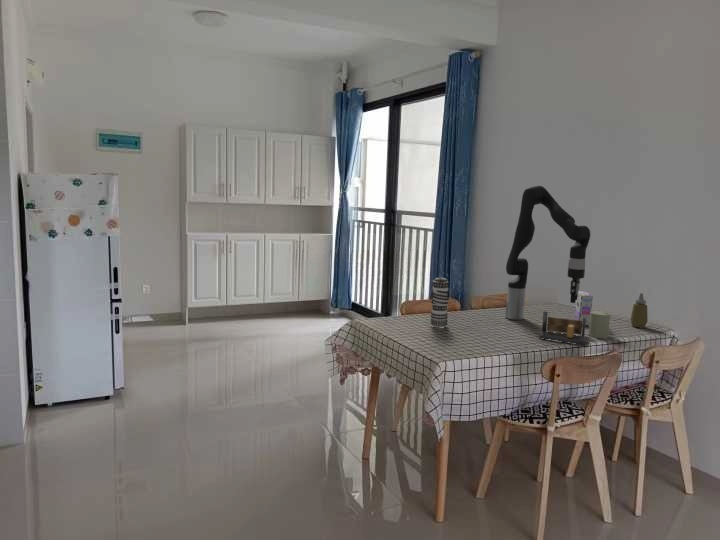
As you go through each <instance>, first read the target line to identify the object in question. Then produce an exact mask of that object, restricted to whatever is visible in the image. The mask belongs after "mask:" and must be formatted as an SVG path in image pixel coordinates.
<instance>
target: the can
mask: <svg viewBox="0 0 720 540" xmlns="http://www.w3.org/2000/svg"><path fill="white" fill-rule="evenodd" d="M610 321H611V313H610V312H606V311H602V310H601V311H600V310H591V312H590V326H588V328H589V329H588V334H589V335H590V336H589V335H588V336H589V337H591V336H593V337H592V338H595V337H598V338H597V339H608V338H609V336H610V335H609V333H610ZM607 337H608V338H607Z"/></svg>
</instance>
